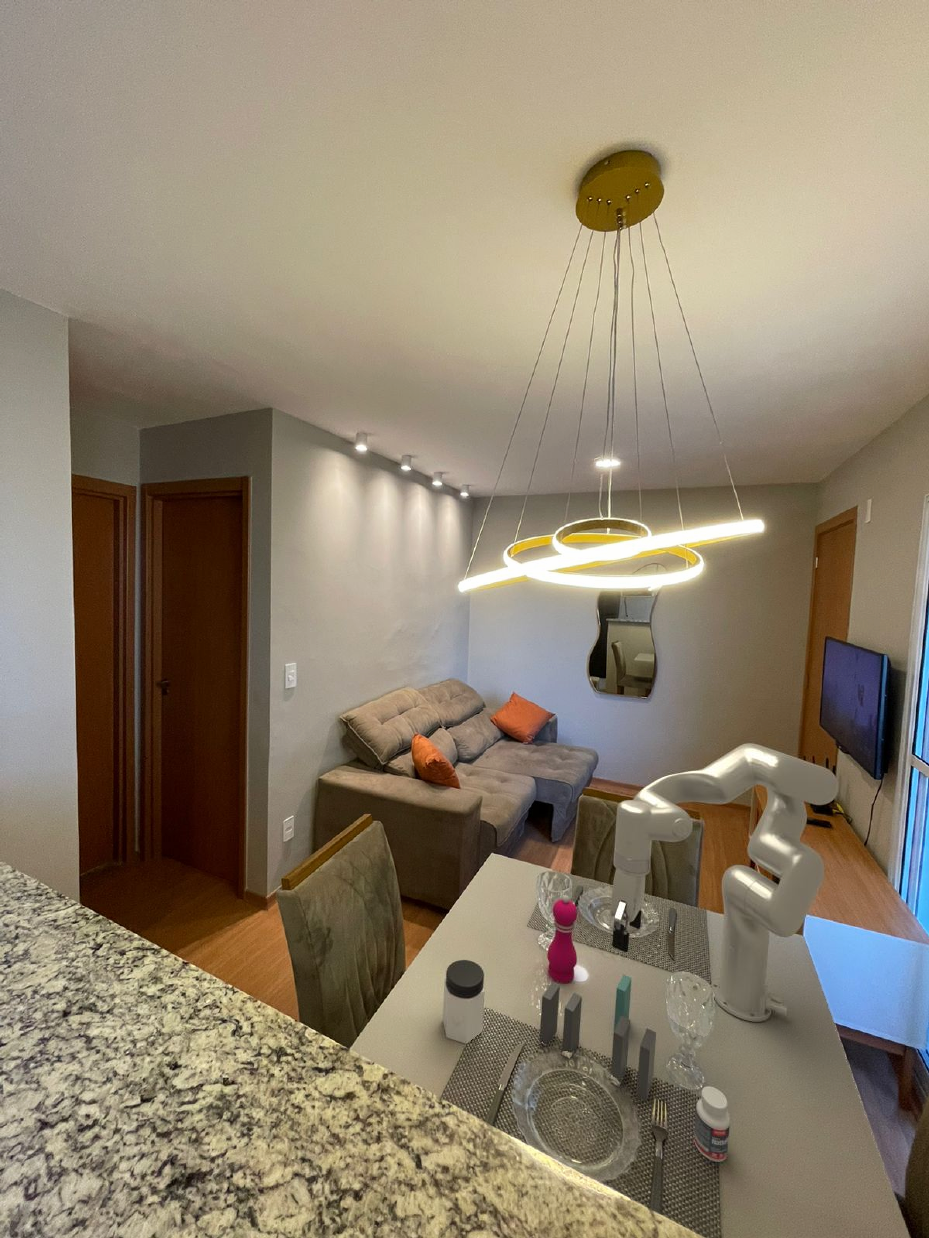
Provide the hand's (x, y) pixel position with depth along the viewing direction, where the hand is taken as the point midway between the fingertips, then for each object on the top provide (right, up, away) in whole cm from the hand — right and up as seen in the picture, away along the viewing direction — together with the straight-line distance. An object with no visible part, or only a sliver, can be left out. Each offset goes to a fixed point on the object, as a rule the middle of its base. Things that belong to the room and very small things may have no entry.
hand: (626, 937), depth 112 cm
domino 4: (-5, -20, -11) cm, 24 cm away
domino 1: (-18, -19, -3) cm, 26 cm away
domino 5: (-1, -21, -14) cm, 25 cm away
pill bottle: (+7, -22, -24) cm, 33 cm away
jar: (-36, -19, -2) cm, 40 cm away
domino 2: (-13, -20, -6) cm, 24 cm away
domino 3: (-1, -20, +1) cm, 20 cm away
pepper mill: (-11, -19, +16) cm, 27 cm away
